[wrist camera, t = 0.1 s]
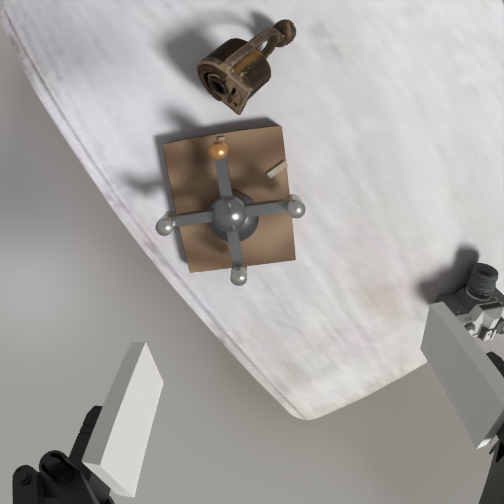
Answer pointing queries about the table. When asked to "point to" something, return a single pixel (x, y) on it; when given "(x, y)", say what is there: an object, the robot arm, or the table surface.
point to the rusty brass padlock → (242, 65)
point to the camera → (478, 303)
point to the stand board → (242, 179)
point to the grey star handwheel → (231, 213)
